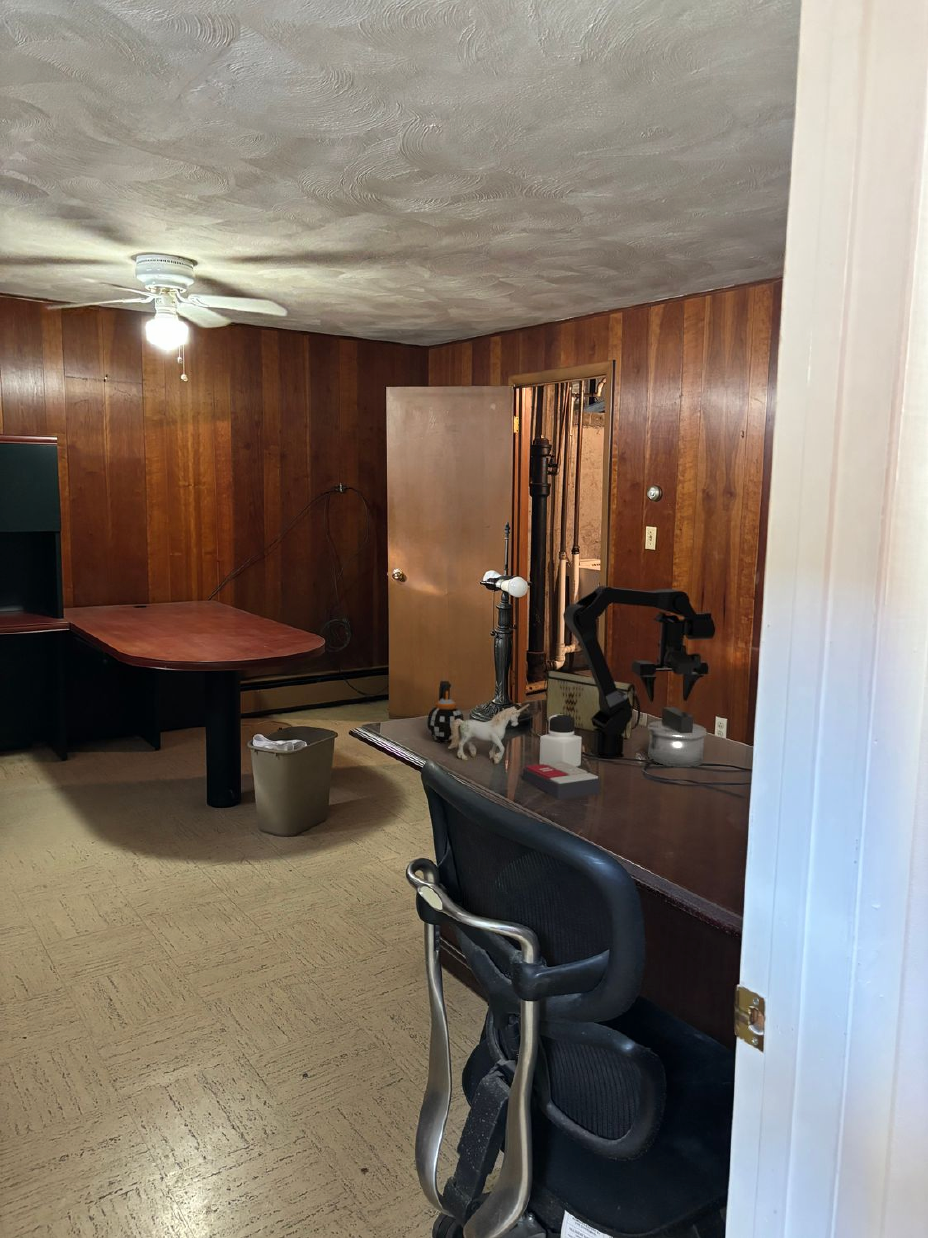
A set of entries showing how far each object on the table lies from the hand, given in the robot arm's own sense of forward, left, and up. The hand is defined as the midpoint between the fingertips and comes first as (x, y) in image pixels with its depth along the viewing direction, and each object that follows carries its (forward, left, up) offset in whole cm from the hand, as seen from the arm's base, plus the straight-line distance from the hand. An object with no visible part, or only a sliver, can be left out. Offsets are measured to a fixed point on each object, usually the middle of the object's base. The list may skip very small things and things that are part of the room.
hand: (668, 701), depth 224 cm
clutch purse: (-11, +24, -13) cm, 30 cm away
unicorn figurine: (-46, +2, -13) cm, 48 cm away
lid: (-1, -7, -6) cm, 9 cm away
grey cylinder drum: (-1, -7, -13) cm, 15 cm away
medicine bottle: (-31, -7, -13) cm, 34 cm away
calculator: (-36, -22, -14) cm, 44 cm away
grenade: (-53, +19, -13) cm, 58 cm away
